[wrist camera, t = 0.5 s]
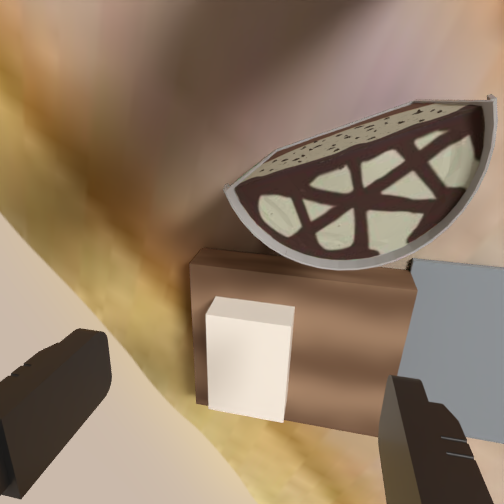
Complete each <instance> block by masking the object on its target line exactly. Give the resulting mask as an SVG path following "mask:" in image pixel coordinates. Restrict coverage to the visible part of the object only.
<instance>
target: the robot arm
mask: <svg viewBox="0 0 504 504" xmlns="http://www.w3.org/2000/svg"><path fill="white" fill-rule="evenodd" d="M111 379H112V373H111V365H110V356H109V347H108V339H107V335H106V334H105V333H104V332H101V331H94V330H87V329H80V328H79V329H76V330H75V331H73V332H72V333H71V334H70V335H68V336H67V337H66V338H65V339H64V340H62V341H61V342H60V343H56V344H54V345H52V346H50V347H48V348H45V349H43V350H41V351H39V352H38V353H37V354H35V355H34V356H33V357H32V358H30V359H29V360H28V361H26V362H25V363H24V365H23V366H20V367H19V368H17V369H16V370H15V371H14V372H12V373H11V376H8V377H6V378H5V379H3V380H2V381H1V382H0V495H5V496H9V497H14V498H18V499H22V497H23V496H24V495H25V494H26V493H27V491H28V490H29V489H30V488H31V487H32V485H33V484H34V483H35V482H36V480H37V479H38V478H39V477H40V475H41V474H42V473H43V472H44V471H45V470H46V468H47V467H48V466H49V465H50V463H51V462H52V461H53V460H54V459H55V457H56V456H57V455H58V454H59V453H60V451H61V450H62V449H63V448H64V446H65V445H66V444H67V443H68V442H69V440H70V439H71V438H72V437H73V435H74V434H75V433H76V432H77V431H78V429H79V428H80V427H81V426H82V425H83V423H84V422H85V421H86V420H87V418H88V417H89V416H90V415H91V414H92V412H93V411H94V410H95V409H96V408H97V406H98V405H99V404H100V403H101V401H102V400H103V399H104V398H105V396H106V395H107V393H108V391H109V388H110V385H111ZM378 444H379V453H380V460H381V467H382V474H383V481H384V488H385V495H386V502H387V504H494V503H493V501H492V498H491V496H490V494H489V491H488V489H487V487H486V484H485V482H484V479H483V477H482V475H481V472H480V470H479V468H478V465H477V463H476V461H475V460H474V456H473V453H472V451H471V449H470V446H469V444H467V439H466V437H465V434H464V432H463V430H462V427H461V425H460V423H459V421H458V420H457V419H456V417H455V416H454V415H453V414H452V413H451V412H450V411H449V410H448V409H447V408H446V407H445V405H444V404H441V403H435V402H429V401H428V398H427V395H426V392H425V389H424V386H423V383H422V381H421V380H420V379H415V378H408V377H401V376H395V375H389V376H388V379H387V383H386V388H385V393H384V399H383V404H382V410H381V415H380V421H379V430H378Z"/></svg>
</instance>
